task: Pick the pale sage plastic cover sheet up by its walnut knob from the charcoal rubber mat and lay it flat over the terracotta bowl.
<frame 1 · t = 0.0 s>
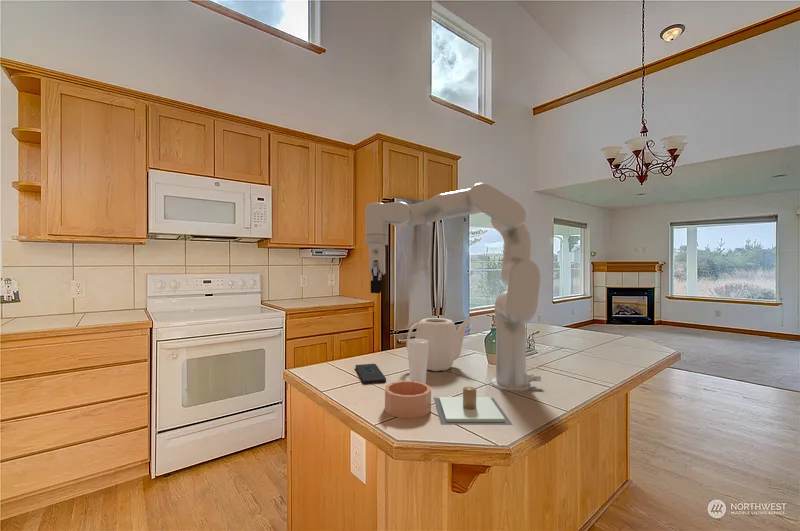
hand: (376, 291, 119), 31 cm above the table, fingers open, 9 cm apart
bowl: (407, 409, 100), on the table
smart home device: (369, 376, 131), on the table
drinking glass: (418, 386, 120), on the table
watering can: (439, 367, 141), on the table
cover sheet: (469, 409, 99), resting on mat
mat: (469, 411, 99), on the table
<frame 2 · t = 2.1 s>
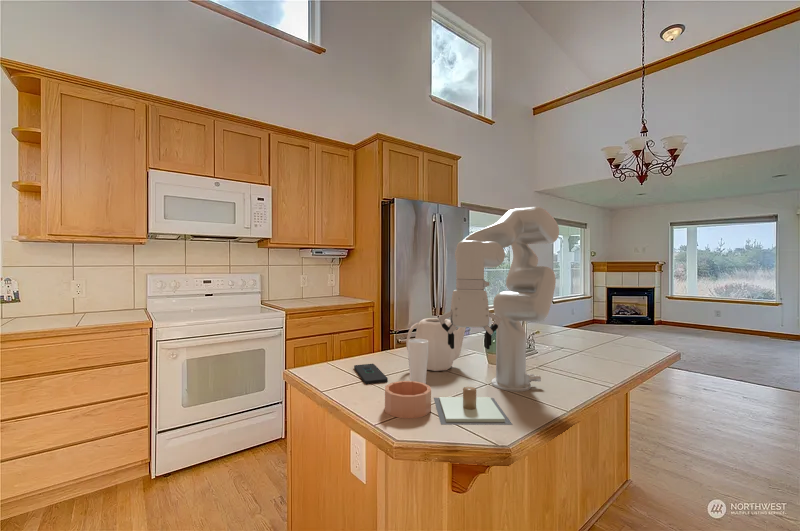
hand: (469, 347, 98), 18 cm above the table, fingers open, 9 cm apart
nothing on the table moved.
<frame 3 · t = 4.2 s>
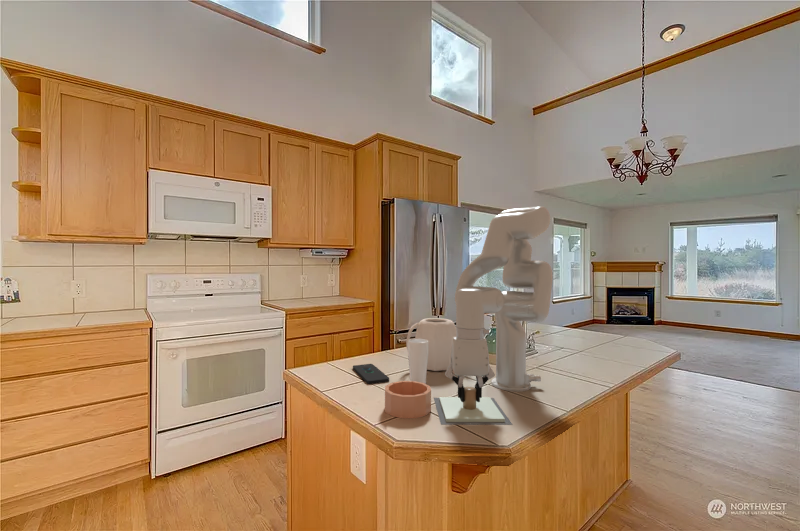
hand: (469, 399, 99), 3 cm above the table, fingers closed on cover sheet, 3 cm apart
cover sheet: (469, 409, 99), resting on mat, touching gripper
everything else where it was.
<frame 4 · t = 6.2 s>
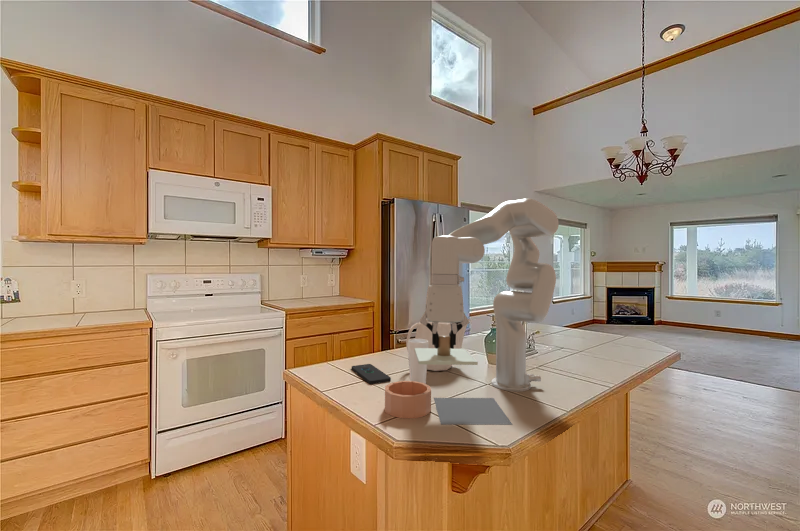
hand: (443, 346, 99), 18 cm above the table, fingers closed on cover sheet, 3 cm apart
cover sheet: (443, 357, 99), point 15 cm above the table, touching gripper
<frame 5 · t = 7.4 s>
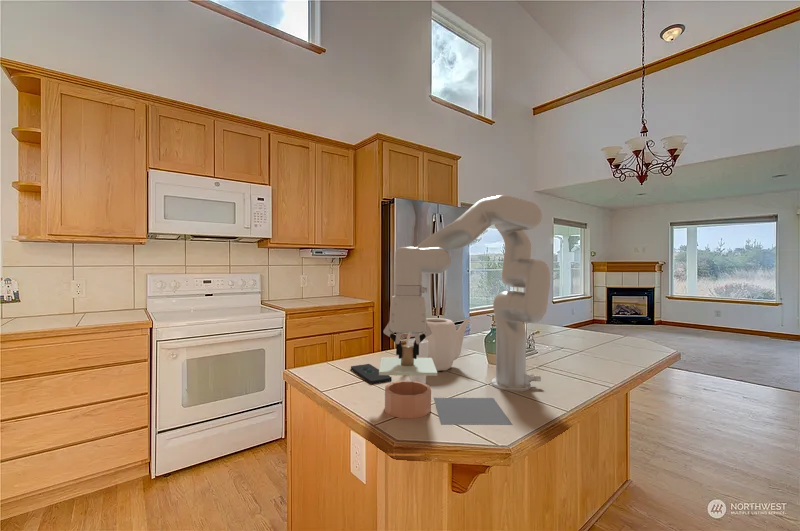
hand: (407, 357, 99), 15 cm above the table, fingers closed on cover sheet, 3 cm apart
cover sheet: (407, 367, 99), point 12 cm above the table, touching gripper
when the fingers open (11 cm above the table, at t = 8.3 s): cover sheet drops 2 cm, resting on bowl.
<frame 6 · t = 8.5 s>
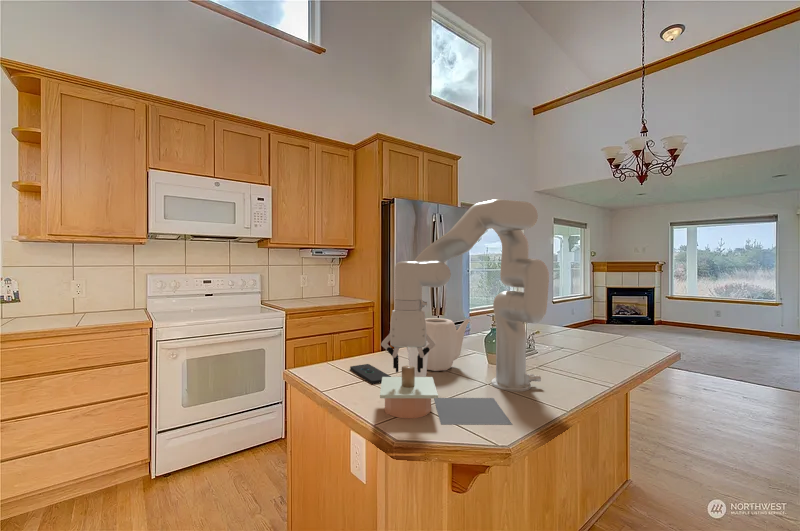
hand: (408, 370, 100), 11 cm above the table, fingers open, 5 cm apart
cover sheet: (408, 388, 99), point 6 cm above the table, touching bowl
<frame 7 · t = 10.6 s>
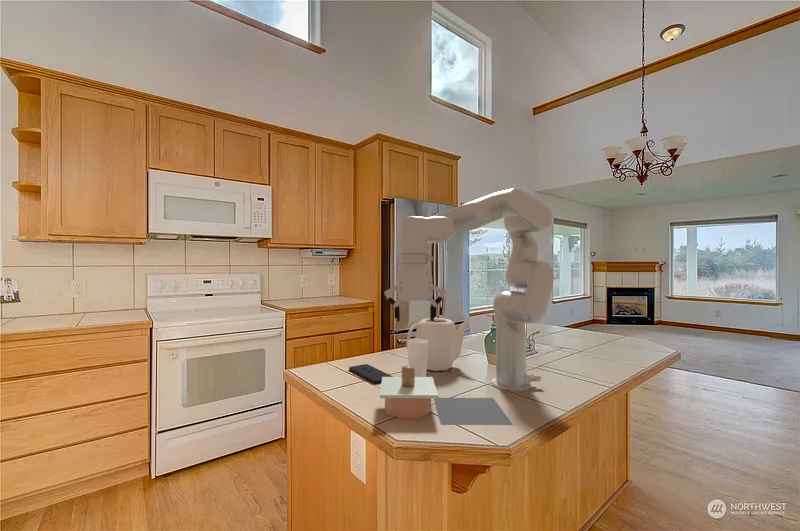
hand: (415, 320, 102), 24 cm above the table, fingers open, 9 cm apart
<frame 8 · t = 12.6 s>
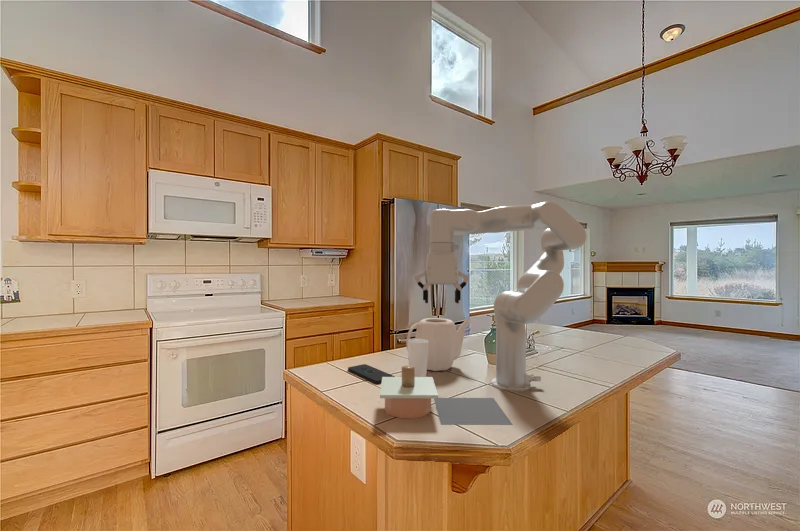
hand: (441, 302, 114), 28 cm above the table, fingers open, 9 cm apart
at the end: cover sheet 0.1 cm off-centre on the bowl, point 6.0 cm above the bowl's base; cover sheet tilted 0°; the gripper is holding nothing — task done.
